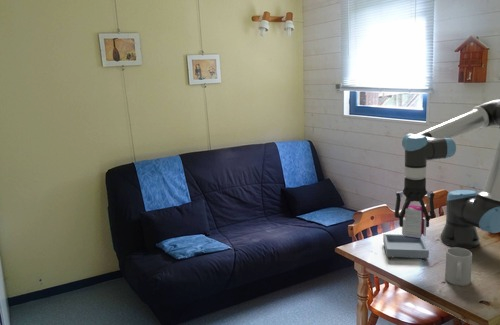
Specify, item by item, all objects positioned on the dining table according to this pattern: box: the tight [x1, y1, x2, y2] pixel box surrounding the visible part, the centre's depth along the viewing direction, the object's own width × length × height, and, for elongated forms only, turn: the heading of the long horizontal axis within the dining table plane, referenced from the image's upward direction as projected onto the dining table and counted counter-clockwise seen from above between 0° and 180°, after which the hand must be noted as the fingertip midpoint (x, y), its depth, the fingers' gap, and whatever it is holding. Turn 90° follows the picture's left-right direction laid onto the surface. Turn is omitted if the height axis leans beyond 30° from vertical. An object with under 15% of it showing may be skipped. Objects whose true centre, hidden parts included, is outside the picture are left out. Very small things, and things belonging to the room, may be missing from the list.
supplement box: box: [404, 204, 424, 239], centre depth 160 cm, size 6×6×12 cm
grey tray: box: [382, 233, 430, 262], centre depth 178 cm, size 16×16×5 cm
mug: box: [444, 246, 473, 286], centre depth 151 cm, size 12×8×11 cm
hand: (413, 234), depth 162 cm, fingers closed on supplement box, 7 cm apart
